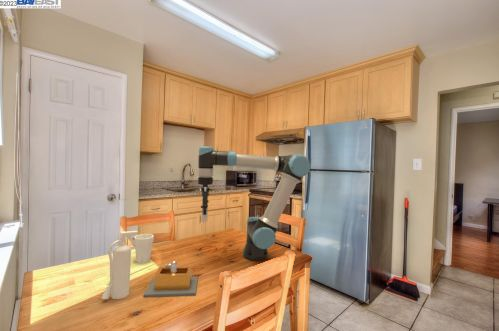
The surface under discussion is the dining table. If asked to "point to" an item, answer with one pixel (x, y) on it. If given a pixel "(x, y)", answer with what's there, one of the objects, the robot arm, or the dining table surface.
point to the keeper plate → (162, 293)
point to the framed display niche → (173, 278)
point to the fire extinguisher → (120, 267)
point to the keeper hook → (172, 267)
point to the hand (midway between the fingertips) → (204, 217)
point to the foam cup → (143, 247)
